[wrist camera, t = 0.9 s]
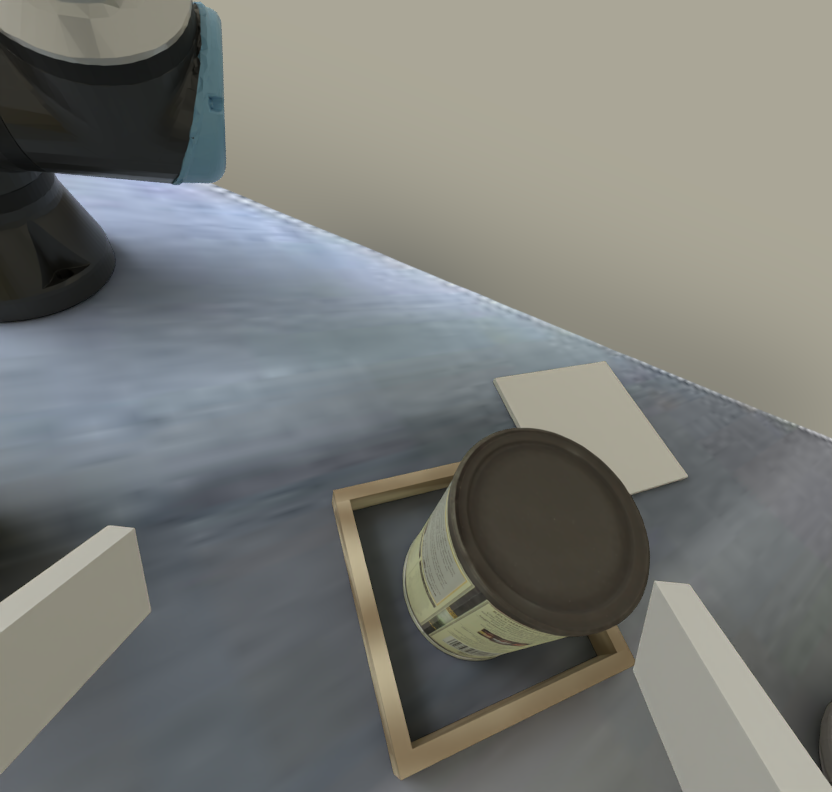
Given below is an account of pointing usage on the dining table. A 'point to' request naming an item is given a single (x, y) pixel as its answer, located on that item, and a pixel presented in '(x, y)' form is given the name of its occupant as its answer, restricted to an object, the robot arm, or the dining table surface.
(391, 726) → the birch frame
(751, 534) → the dining table surface
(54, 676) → the robot arm
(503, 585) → the coffee can
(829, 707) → the coffee pot
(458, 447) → the dining table surface
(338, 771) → the dining table surface
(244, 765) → the dining table surface
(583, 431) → the white square board
